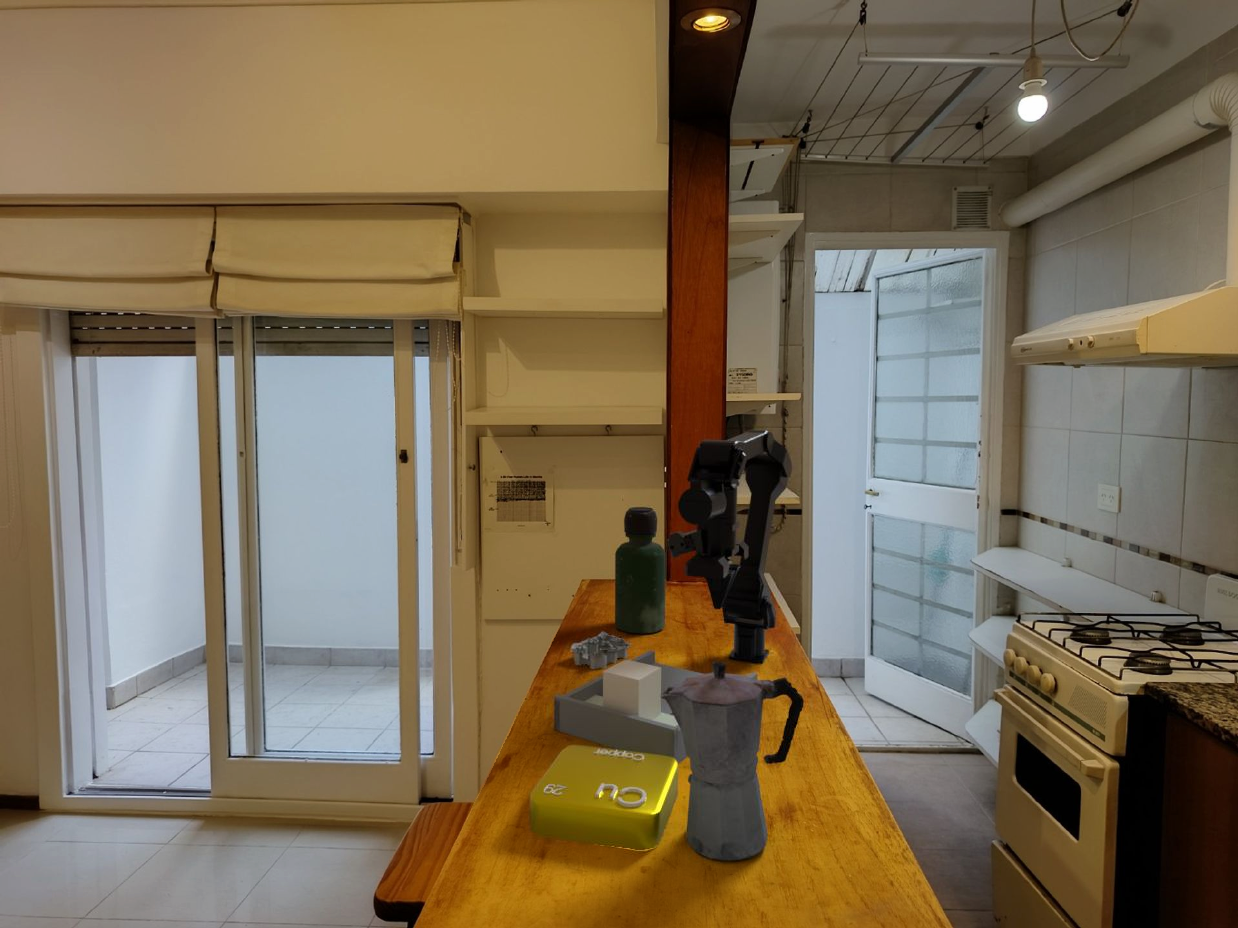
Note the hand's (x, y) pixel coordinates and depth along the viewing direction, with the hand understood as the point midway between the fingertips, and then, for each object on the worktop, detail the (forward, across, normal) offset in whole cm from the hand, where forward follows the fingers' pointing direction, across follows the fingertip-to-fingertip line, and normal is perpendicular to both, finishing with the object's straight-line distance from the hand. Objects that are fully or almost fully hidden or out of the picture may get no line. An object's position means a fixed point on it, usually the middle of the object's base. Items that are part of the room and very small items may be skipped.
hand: (717, 608), depth 130 cm
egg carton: (+14, -4, -23) cm, 27 cm away
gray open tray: (+13, +16, -5) cm, 21 cm away
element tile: (+14, +43, -2) cm, 45 cm away
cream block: (+10, +23, -6) cm, 26 cm away
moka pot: (+13, +44, +13) cm, 48 cm away
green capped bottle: (+13, -25, -23) cm, 36 cm away
